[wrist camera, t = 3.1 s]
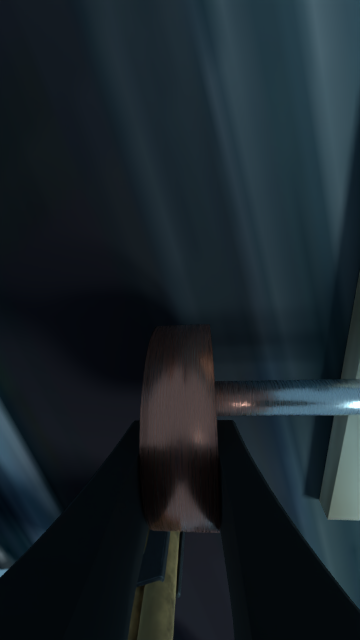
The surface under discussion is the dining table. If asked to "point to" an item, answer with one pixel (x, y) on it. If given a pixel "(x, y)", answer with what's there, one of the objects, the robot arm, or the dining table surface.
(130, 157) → the dining table surface
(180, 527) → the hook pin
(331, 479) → the eye bracket
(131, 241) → the dining table surface
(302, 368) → the dining table surface
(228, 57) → the dining table surface
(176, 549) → the ammunition clip
